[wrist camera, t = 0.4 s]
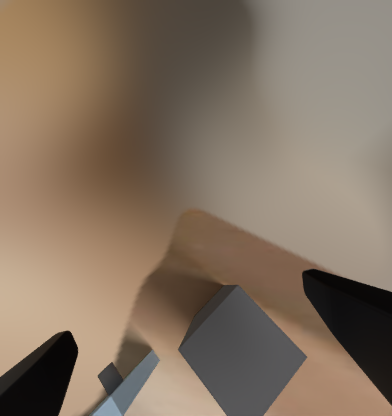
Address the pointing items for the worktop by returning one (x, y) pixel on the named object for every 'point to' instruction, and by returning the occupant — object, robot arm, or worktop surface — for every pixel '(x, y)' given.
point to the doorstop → (240, 353)
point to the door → (123, 386)
